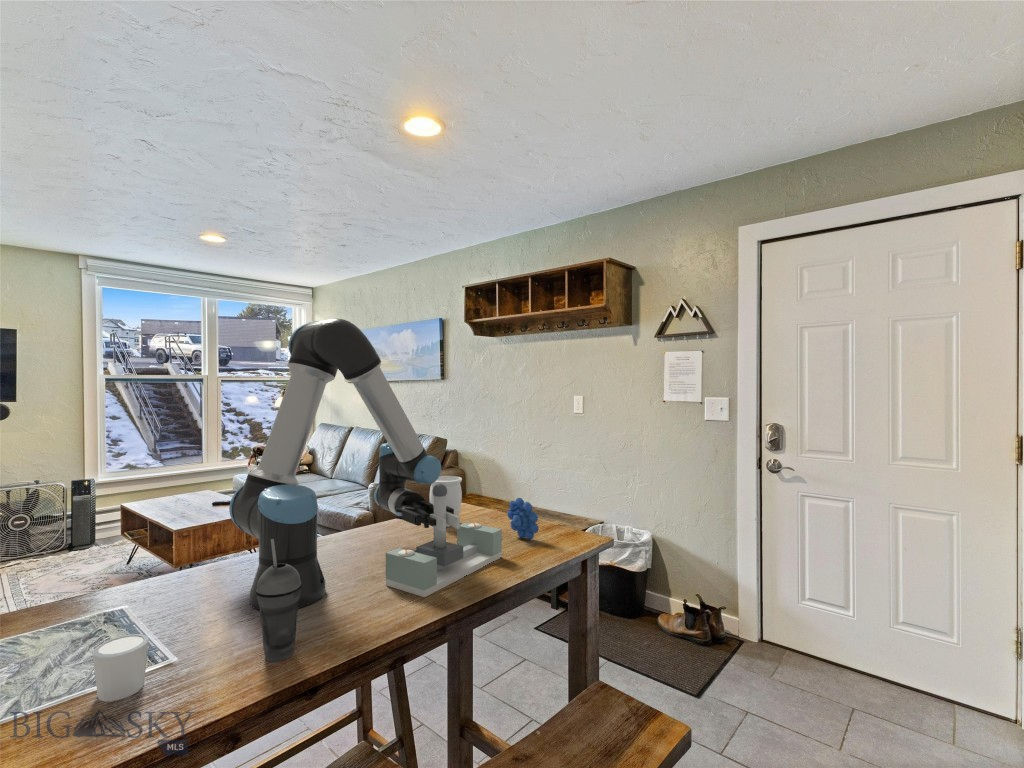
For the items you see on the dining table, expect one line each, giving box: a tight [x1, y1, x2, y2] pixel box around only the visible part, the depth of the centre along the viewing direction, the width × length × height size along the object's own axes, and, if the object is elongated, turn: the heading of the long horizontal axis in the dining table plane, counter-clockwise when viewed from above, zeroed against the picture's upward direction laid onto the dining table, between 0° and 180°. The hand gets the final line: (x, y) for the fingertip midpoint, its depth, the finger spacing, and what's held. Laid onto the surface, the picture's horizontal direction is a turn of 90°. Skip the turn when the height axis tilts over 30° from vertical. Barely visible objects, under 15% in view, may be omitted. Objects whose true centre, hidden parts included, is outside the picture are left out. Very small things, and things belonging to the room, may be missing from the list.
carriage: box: [415, 484, 463, 567], centre depth 124 cm, size 7×9×18 cm
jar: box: [429, 475, 463, 528], centre depth 168 cm, size 11×10×15 cm
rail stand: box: [385, 522, 503, 598], centre depth 127 cm, size 30×12×8 cm, turn 147°
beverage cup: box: [256, 539, 302, 663], centre depth 88 cm, size 7×7×20 cm
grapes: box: [506, 497, 539, 540], centre depth 152 cm, size 12×7×12 cm, turn 49°
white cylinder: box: [92, 633, 150, 702], centre depth 78 cm, size 7×7×7 cm
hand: (451, 524), depth 120 cm, fingers closed on carriage, 3 cm apart
